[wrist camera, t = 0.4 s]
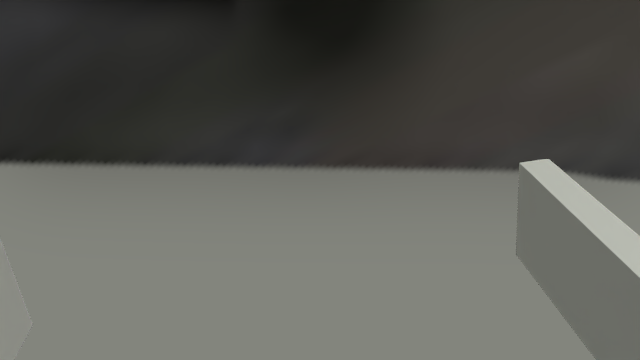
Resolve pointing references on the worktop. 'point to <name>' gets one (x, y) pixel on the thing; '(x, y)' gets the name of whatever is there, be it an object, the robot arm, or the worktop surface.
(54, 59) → the worktop surface
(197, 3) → the worktop surface
